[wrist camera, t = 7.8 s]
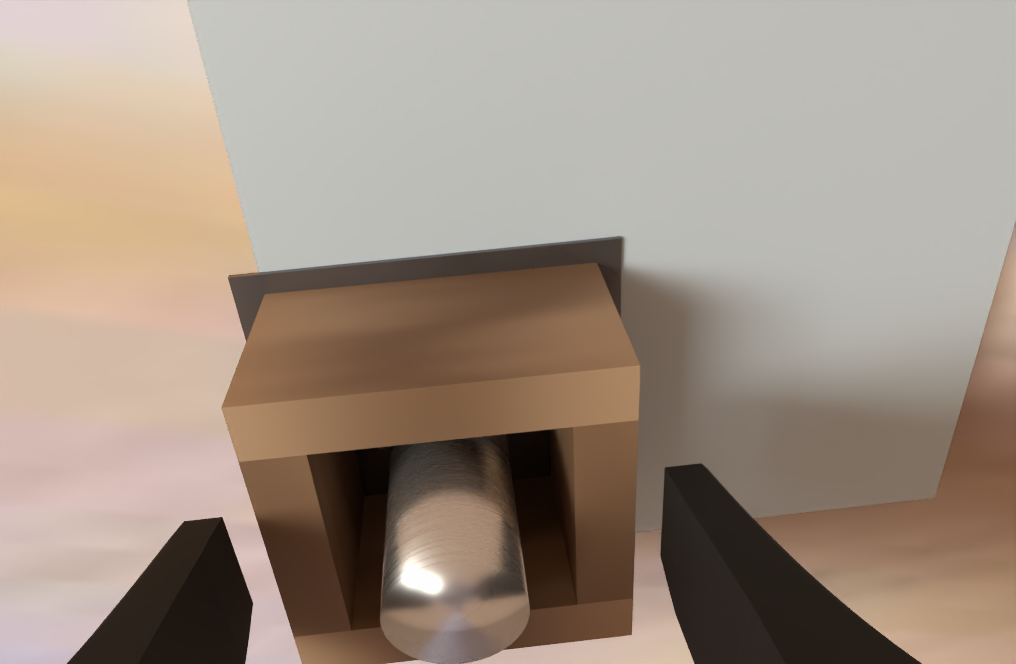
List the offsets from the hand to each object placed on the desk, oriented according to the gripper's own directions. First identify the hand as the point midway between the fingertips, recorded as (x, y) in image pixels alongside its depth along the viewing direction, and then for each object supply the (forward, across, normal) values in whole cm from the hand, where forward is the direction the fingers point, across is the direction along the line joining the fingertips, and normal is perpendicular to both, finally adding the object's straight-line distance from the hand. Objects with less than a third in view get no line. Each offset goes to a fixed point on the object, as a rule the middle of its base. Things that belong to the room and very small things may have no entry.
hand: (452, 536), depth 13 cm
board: (+4, -4, -2) cm, 6 cm away
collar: (+3, 0, 0) cm, 3 cm away
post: (+4, 0, 0) cm, 4 cm away
